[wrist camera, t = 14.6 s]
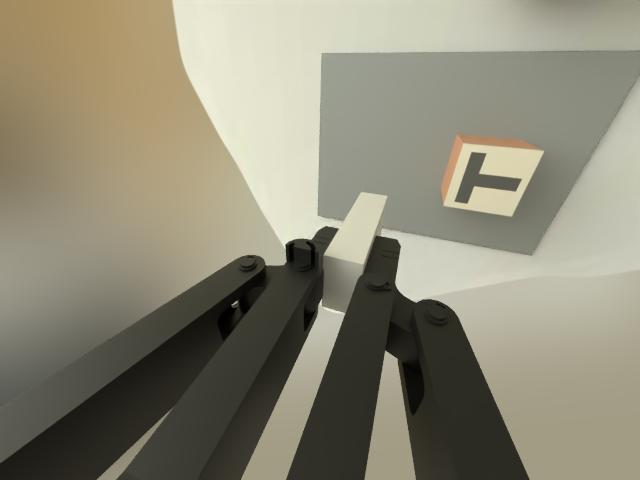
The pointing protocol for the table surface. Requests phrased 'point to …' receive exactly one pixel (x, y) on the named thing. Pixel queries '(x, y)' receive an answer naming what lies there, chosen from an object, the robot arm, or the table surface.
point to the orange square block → (488, 173)
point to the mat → (462, 132)
